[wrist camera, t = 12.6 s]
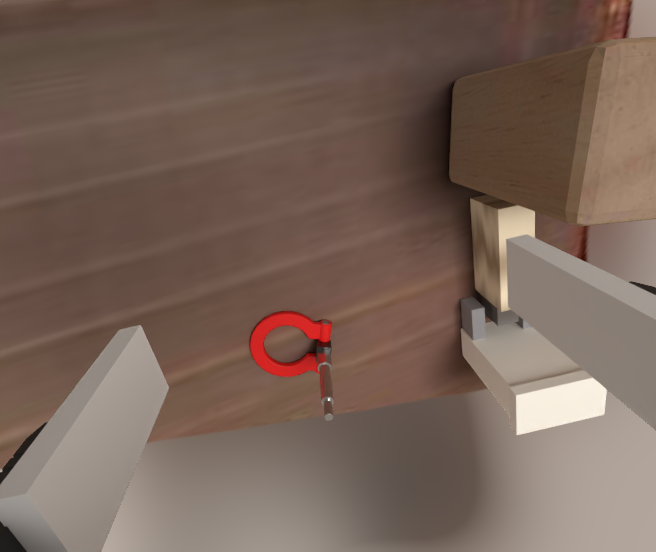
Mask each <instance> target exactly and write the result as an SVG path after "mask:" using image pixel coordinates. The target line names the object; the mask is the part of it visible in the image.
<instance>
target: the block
mask: <svg viewBox="0 0 656 552" xmlns="http://www.w3.org/2000/svg"><path fill="white" fill-rule="evenodd" d="M449 176H450V179H451V182H454V183H457V184H459V185H462V186H465V187H468V188H471V189H474V190H476V191H479V192H482V193H485V194H488V195H491V196H493V197H496V198H499V199H502V200H505V201H507V202H510V203H513V204H516V205H519V206H522V207H524V208H527V209H530V210H533V211H536V212H538V213H541V214H544V215H547V216H550V217H553V218H555V219H558V220H561V221H564V222H567V223H569V224H572V225H575V226H589V225H599V224H609V223H619V222H629V221H639V220H649V219H656V37H644V38H628V39H612V40H607V41H603V42H599V43H595V44H591V45H587V46H583V47H579V48H575V49H571V50H567V51H563V52H559V53H555V54H551V55H547V56H543V57H539V58H535V59H531V60H527V61H523V62H519V63H515V64H511V65H507V66H503V67H500V68H496V69H492V70H488V71H484V72H480V73H476V74H472V75H468V76H464V77H462V78H460V79H458V80H456V82H455V84H454V87H453V95H452V118H451V141H450V164H449Z"/></svg>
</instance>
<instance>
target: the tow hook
mask: <svg viewBox="0 0 656 552" xmlns="http://www.w3.org/2000/svg"><path fill="white" fill-rule="evenodd" d="M283 325H290V326H294V327H297V328H299V329H301V330H302V331H303V332H304V333H305V334H306V335H307V337H308V338H310V339H317V344H316V353H307V354H306V355H305V356H304V357H303V358H302V359H300V360H298V361H296V362H293V363H281V362H277V361H276V360H274V359H272V358H271V357H270V356H269V355H268V354H267V352H266V351H265V348H264V339H265V337H266V335H267V334H268V333H269V332H270V331H271V330H272V329H274V328H276V327H278V326H283ZM331 326H332V322H331V321H329V320H321V321H320V322H313V321H312V320H311V319H310V318H308V317H306V316H304V315H303V314H300V313H296V312H292V311H282V312H277V313H273V314H271V315H269V316H267V317H265V318H264V319H263V320H261V321H260V322H259V323H258V324H257V326H256V327H255V329H254V330H253V334H252V337H251V341H250V350H251V353H252V356H253V358H254V360H255V361H256V363H257V364H258V365H259V366H260V367H261V368H262V369H264V370H265V371H267V372H269V373H271V374H274V375H278V376H289V377H291V376H295V375H300V374H302V373H304V372H306V371H308V370H314V371H315V372H316V373H319V374H320V389H321V403H322V405H323V406H324V416H325V419H326V420H328V421H329V420H331V419H333V411H332V405H333V403H334V399H333V390H332V381H331V367H332V363H331V341H330V334H331Z"/></svg>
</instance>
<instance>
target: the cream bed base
mask: <svg viewBox="0 0 656 552" xmlns="http://www.w3.org/2000/svg"><path fill="white" fill-rule="evenodd" d="M460 300H461V314H462V327H463V328H461V341H462V354H463V357H464V358H465V359H466V361H467V362H468V363H469V365H470V366H471V367H472V368H473V370H474V371H475V372H476V374H477V375H478V376H479V378H480V379H481V380H482V381H483V383H484V384H485V385H486V387H487V388H488V389H489V391H490V392H491V393H492V394H493V396H494V397H495V398H496V400H497V401H498V402H499V404H500V405H501V406H502V407H503V409H505V411H506V413H507V414H508V415H509V416H510V427H511V428H512V429H513V431H514V432H515V434H516V435H519V434H523V433H528V432H532V431H536V430H541V429H545V428H549V427H553V426H557V425H562V424H566V423H571V422H575V421H579V420H583V419H587V418H592V417H596V416H600V415H604V413H605V412H604V411H605V402H606V392H607V389H606V388H605V387H603V386H602V385H601V384H600V383H599V382H597V381H596V380H595V379H594V378H593V377H591V376H590V375H589V374H588V373H587V372H585V371H584V370H583V369H582V368H581V367H579V366H578V365H577V364H576V363H575V362H573V361H572V360H571V359H570V358H569V357H567V356H566V355H565V354H564V353H563V352H561V351H560V350H559V349H558V348H557V347H555V346H554V345H553V344H552V343H551V342H549V341H548V340H547V339H546V338H545V337H543V336H542V335H541V334H540V333H539V332H537V331H536V330H535V329H534V328H533V327H531V326H530V325H529V324H528V323H527V322H526V321H524V320H523V319H522V318H521V317H520V316H519V321H518V322H514V323H510V324H505V325H501V326H497V325H496V324H495V323H494V322H493V321H491V322H487V323H485V307H483V306H482V305H481V304H480V303H479V302H478V301H477V300H476V299H475V298H474V297H468V298H464V299H460Z"/></svg>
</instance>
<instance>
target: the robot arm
mask: <svg viewBox="0 0 656 552" xmlns="http://www.w3.org/2000/svg"><path fill="white" fill-rule="evenodd" d="M506 253H507V286H508V307H509V308H510V309H511V310H512V311H514V312H515V313H516V314H517V315H518V316H520V317H521V318H522V319H523V320H524V321H526V322H527V323H528V324H529V325H530V326H531V327H533V328H534V329H535V330H536V331H537V332H539V333H540V334H541V335H542V336H543V337H545V338H546V339H547V340H548V341H549V342H551V343H552V344H553V345H554V346H555V347H557V348H558V349H559V350H560V351H561V352H563V353H564V354H565V355H566V356H567V357H569V358H570V359H571V360H572V361H573V362H575V363H576V364H577V365H578V366H579V367H581V368H582V369H583V370H584V371H585V372H587V373H588V374H589V375H590V376H591V377H593V378H594V379H595V380H596V381H597V382H599V383H600V384H601V385H602V386H603V387H605V388H606V389H607V390H608V391H609V392H611V393H612V394H613V395H614V396H615V397H617V398H618V399H619V400H620V401H621V402H623V403H624V404H625V405H626V406H627V407H629V408H630V409H631V410H632V411H633V412H635V413H636V414H637V415H638V416H639V417H641V418H642V419H643V420H644V421H645V422H647V423H648V424H649V425H650V426H651V427H653V428H654V429H655V430H656V288H655V287H652V286H648V285H644V284H640V283H636V282H627V281H624V280H622V279H620V278H618V277H616V276H614V275H612V274H610V273H608V272H605V271H603V270H601V269H599V268H597V267H595V266H593V265H591V264H589V263H587V262H584V261H582V260H580V259H578V258H576V257H574V256H572V255H570V254H568V253H565V252H563V251H561V250H559V249H557V248H555V247H553V246H551V245H549V244H546V243H544V242H542V241H540V240H538V239H536V238H534V237H532V236H530V235H527V234H526V235H522V236H517V237H513V238H509V239H506ZM168 389H169V387H168V384H167V382H166V380H165V378H164V375H163V373H162V371H161V369H160V367H159V364H158V362H157V360H156V358H155V355H154V353H153V351H152V349H151V347H150V344H149V342H148V340H147V338H146V335H145V333H144V331H143V329H142V327H141V325H138V326H134V327H129V328H125V329H121V330H118V332H117V333H116V334H115V336H114V337H113V338H112V340H111V341H110V342H109V343H108V345H107V346H106V347H105V349H104V350H103V351H102V353H101V354H100V355H99V357H98V358H97V359H96V360H95V362H94V363H93V364H92V366H91V367H90V368H89V370H88V371H87V372H86V373H85V375H84V376H83V377H82V379H81V380H80V381H79V383H78V384H77V385H76V387H75V388H74V389H73V390H72V392H71V393H70V394H69V396H68V397H67V398H66V400H65V401H64V402H63V403H62V405H61V406H60V407H59V409H58V410H57V411H56V413H55V414H54V415H53V417H52V418H51V419H50V420H49V422H46V423H44V424H43V425H42V426H41V427H40V428H38V429H37V430H36V431H35V432H34V433H33V434H31V435H30V436H29V437H28V438H27V439H26V440H25V441H24V442H23V444H22V445H21V446H20V448H19V449H18V450H17V451H16V453H15V454H14V455H13V456H14V458H11V459H10V460H9V461H8V463H7V464H6V465H5V466H4V468H3V469H2V470H3V471H2V472H0V552H101V551H102V548H103V546H104V543H105V541H106V539H107V536H108V534H109V531H110V529H111V527H112V524H113V521H114V519H115V517H116V514H117V512H118V510H119V507H120V505H121V502H122V500H123V498H124V495H125V493H126V490H127V488H128V486H129V483H130V481H131V478H132V476H133V474H134V471H135V469H136V466H137V464H138V462H139V459H140V457H141V454H142V452H143V449H144V447H145V445H146V442H147V440H148V438H149V435H150V433H151V430H152V428H153V426H154V423H155V421H156V418H157V416H158V414H159V411H160V409H161V406H162V404H163V401H164V399H165V397H166V394H167V392H168Z"/></svg>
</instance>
